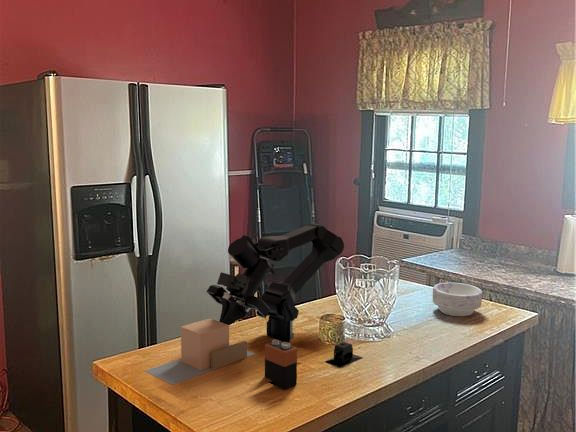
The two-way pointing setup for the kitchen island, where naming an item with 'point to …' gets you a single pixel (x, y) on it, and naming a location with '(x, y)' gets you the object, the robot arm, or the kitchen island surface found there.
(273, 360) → the battery
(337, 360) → the black rectangular piece
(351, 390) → the kitchen island surface
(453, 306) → the white marble bowl
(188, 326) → the block
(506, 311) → the kitchen island surface
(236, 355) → the chute
